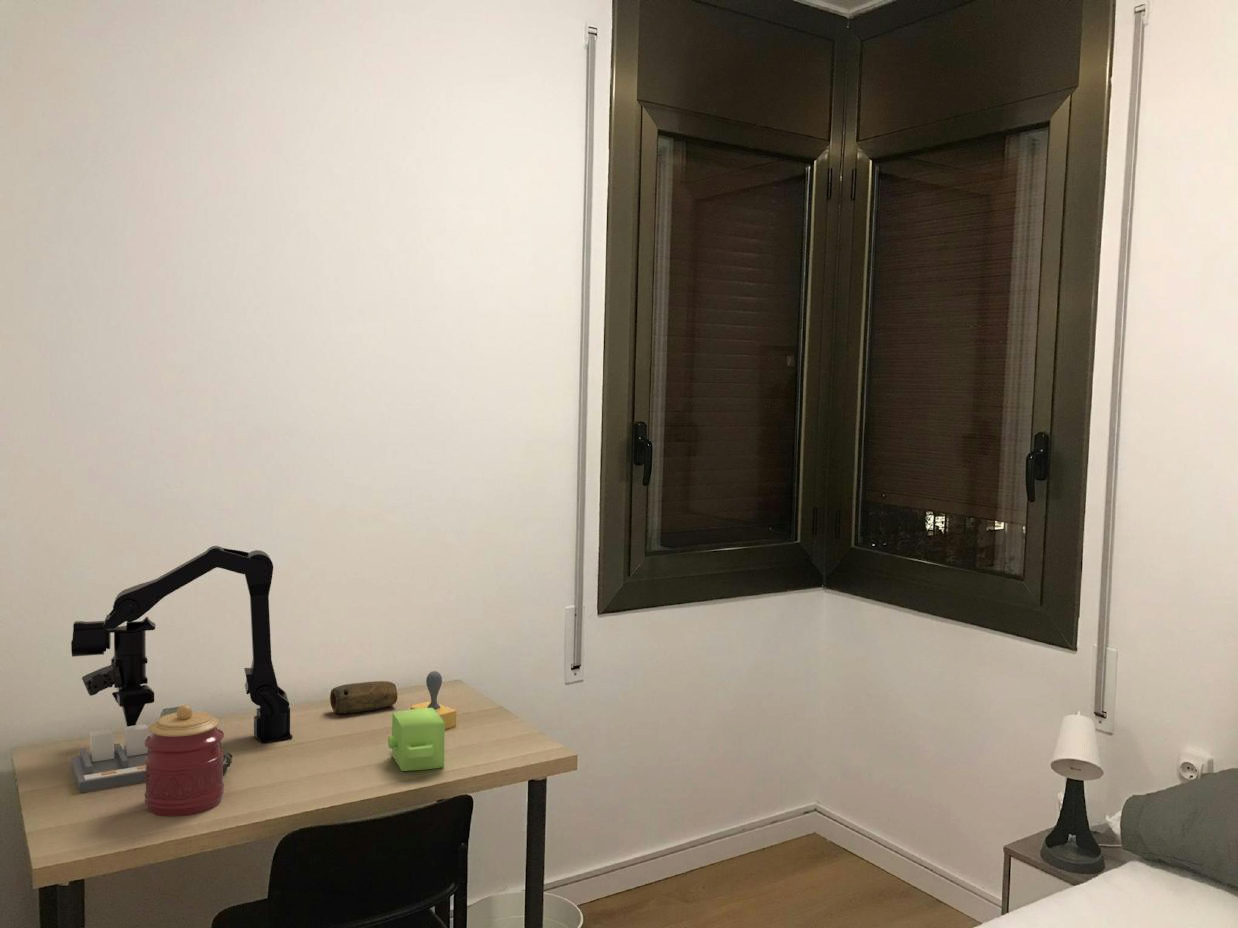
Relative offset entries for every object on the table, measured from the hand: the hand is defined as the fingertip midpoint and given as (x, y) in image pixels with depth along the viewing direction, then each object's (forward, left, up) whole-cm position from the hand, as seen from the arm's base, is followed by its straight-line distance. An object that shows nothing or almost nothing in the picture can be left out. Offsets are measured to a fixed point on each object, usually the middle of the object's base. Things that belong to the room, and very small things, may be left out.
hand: (130, 728), depth 206 cm
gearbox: (-47, +33, -5) cm, 58 cm away
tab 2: (0, +7, -3) cm, 8 cm away
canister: (-4, +33, -5) cm, 34 cm away
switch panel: (+3, +11, -5) cm, 13 cm away
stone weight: (-50, -4, -5) cm, 50 cm away
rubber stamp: (-60, +13, -5) cm, 61 cm away
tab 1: (+6, +8, -3) cm, 10 cm away
